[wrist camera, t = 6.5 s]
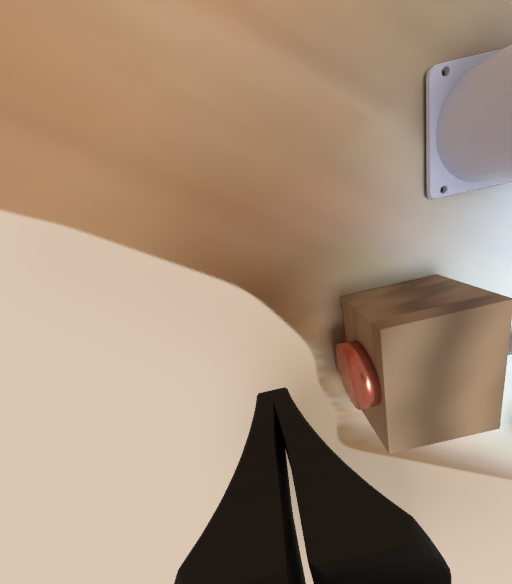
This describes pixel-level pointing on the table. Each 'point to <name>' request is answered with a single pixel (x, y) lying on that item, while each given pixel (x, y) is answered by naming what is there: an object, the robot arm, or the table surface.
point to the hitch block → (432, 358)
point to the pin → (363, 373)
